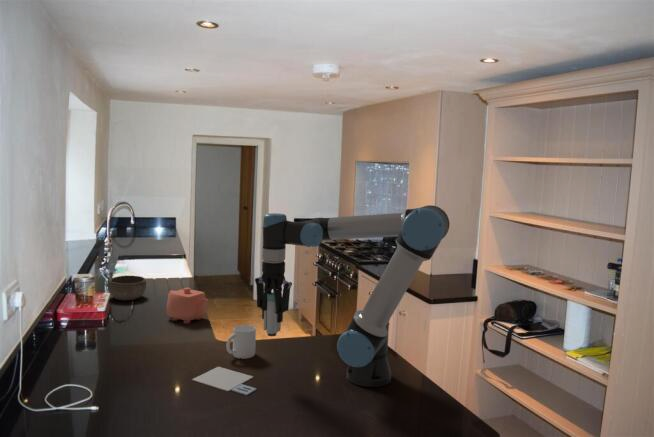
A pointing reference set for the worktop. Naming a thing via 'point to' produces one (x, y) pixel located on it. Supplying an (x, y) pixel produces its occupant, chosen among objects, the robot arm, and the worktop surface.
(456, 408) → the worktop surface
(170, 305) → the teapot
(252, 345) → the mug
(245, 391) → the word card
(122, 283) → the bowl
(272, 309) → the marker
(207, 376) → the paper
